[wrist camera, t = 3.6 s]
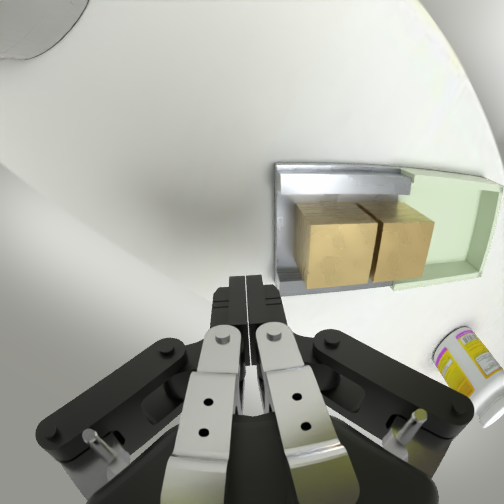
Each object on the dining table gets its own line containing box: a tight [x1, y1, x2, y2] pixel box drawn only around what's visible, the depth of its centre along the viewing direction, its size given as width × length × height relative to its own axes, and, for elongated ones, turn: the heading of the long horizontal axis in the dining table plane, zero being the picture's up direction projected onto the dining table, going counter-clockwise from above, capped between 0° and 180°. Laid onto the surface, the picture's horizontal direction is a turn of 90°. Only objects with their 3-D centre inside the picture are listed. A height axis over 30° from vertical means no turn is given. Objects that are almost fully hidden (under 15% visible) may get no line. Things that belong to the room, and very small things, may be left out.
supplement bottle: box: [434, 327, 504, 428], centre depth 23 cm, size 7×7×13 cm
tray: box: [390, 166, 504, 291], centre depth 20 cm, size 11×9×3 cm
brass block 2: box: [357, 202, 435, 283], centre depth 18 cm, size 4×4×4 cm
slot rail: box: [275, 163, 412, 296], centre depth 19 cm, size 9×9×2 cm
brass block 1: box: [294, 202, 378, 289], centre depth 18 cm, size 4×4×4 cm
